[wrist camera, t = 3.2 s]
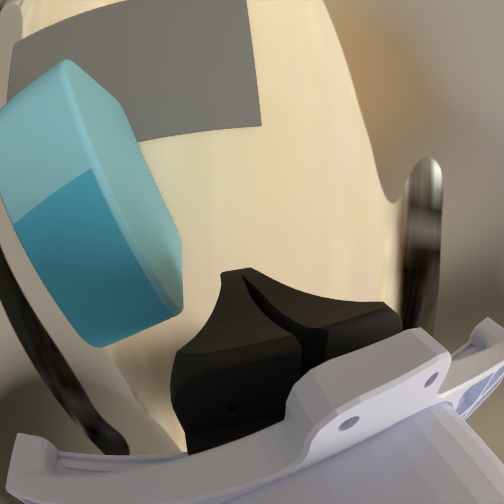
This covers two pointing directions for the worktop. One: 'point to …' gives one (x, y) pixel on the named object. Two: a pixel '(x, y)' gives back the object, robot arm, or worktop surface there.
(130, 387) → the worktop surface
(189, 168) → the worktop surface
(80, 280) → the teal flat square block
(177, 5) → the mat
